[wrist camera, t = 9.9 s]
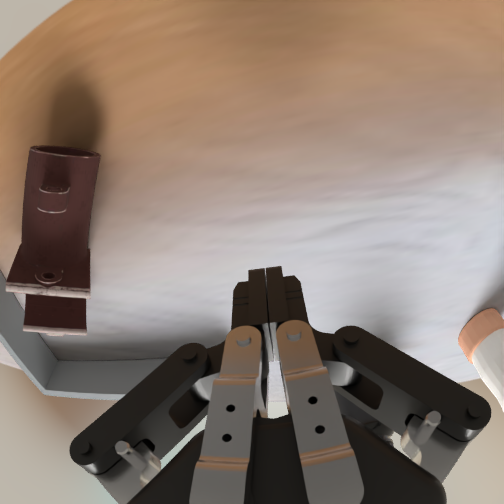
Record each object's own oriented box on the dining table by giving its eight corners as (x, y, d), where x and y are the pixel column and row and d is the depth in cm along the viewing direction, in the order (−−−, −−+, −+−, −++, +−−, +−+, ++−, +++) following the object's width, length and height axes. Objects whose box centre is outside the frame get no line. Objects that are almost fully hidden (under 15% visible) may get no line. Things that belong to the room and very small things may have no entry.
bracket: (30, 312, 26) (20, 382, 18) (39, 141, 21) (9, 155, 13) (84, 316, 29) (90, 385, 21) (103, 149, 24) (106, 166, 16)
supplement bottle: (354, 398, 40) (373, 472, 29) (316, 391, 38) (332, 473, 28) (387, 369, 37) (415, 447, 26) (349, 360, 35) (375, 448, 25)
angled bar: (165, 85, 19) (145, 88, 15) (235, 358, 34) (236, 396, 29) (-46, 176, 20) (-76, 196, 16) (56, 366, 35) (44, 394, 30)
